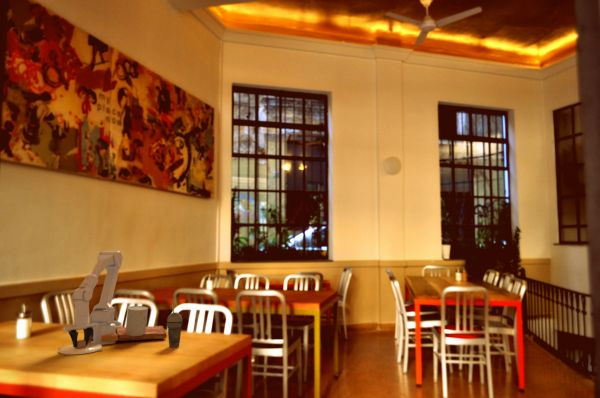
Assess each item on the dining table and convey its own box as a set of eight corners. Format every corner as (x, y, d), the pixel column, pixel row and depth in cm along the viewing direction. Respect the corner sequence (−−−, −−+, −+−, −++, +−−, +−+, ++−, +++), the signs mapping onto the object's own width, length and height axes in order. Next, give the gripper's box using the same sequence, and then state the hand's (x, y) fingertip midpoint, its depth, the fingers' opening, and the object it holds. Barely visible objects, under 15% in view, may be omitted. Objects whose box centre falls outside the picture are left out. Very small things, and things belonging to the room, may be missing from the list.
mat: (94, 345, 212) (94, 343, 212) (102, 352, 200) (102, 350, 200) (58, 350, 203) (58, 348, 203) (64, 358, 191) (64, 355, 191)
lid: (100, 343, 213) (100, 335, 213) (103, 351, 198) (103, 342, 198) (59, 347, 205) (59, 339, 205) (59, 356, 190) (59, 347, 190)
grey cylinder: (139, 329, 229) (142, 305, 230) (149, 334, 223) (151, 309, 223) (121, 332, 222) (124, 306, 223) (131, 336, 216) (133, 310, 216)
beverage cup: (177, 349, 206) (178, 304, 208) (163, 348, 208) (163, 303, 209) (185, 345, 213) (185, 302, 215) (170, 344, 215) (171, 301, 216)
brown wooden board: (100, 334, 224) (100, 327, 224) (162, 331, 237) (163, 325, 237) (101, 342, 212) (101, 335, 213) (166, 339, 225) (167, 332, 225)
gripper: (93, 312, 211) (92, 341, 210) (60, 316, 200) (59, 347, 199) (100, 313, 206) (99, 344, 205) (67, 318, 196) (66, 350, 194)
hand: (80, 346), depth 202 cm, fingers closed on lid, 4 cm apart
